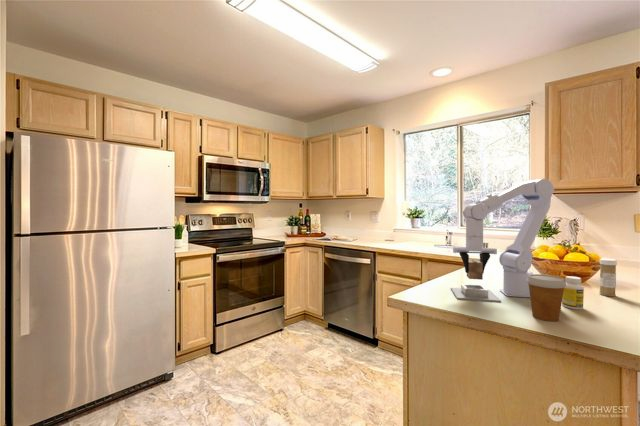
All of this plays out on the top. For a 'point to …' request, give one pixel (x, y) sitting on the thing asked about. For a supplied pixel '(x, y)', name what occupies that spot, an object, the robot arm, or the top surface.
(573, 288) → the supplement bottle
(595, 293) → the top surface
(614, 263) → the sprinkles bottle
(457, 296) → the socket plate
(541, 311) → the disposable coffee cup
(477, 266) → the keyed block
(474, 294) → the collar
